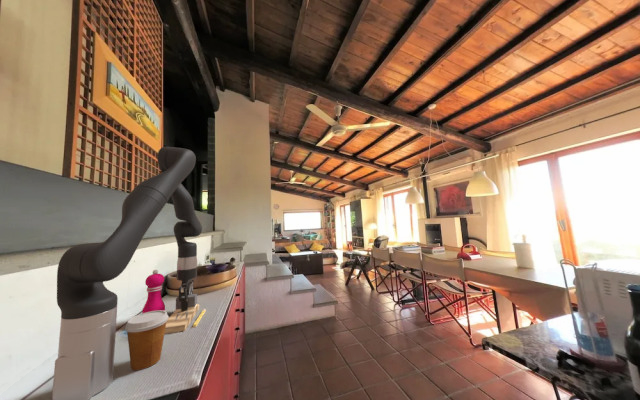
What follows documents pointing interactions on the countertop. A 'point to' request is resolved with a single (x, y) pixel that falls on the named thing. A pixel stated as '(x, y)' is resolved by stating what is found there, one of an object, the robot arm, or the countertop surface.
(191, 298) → the sanding block
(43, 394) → the countertop surface
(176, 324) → the board
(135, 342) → the disposable coffee cup
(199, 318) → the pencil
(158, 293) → the pepper mill
